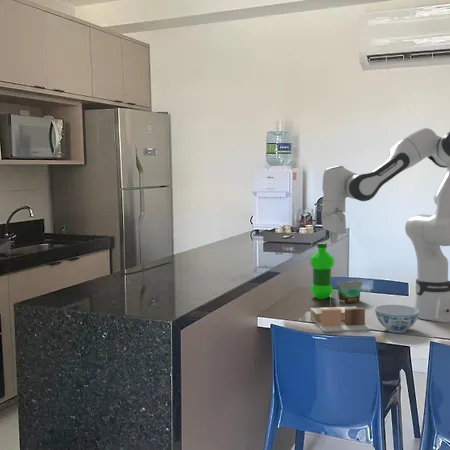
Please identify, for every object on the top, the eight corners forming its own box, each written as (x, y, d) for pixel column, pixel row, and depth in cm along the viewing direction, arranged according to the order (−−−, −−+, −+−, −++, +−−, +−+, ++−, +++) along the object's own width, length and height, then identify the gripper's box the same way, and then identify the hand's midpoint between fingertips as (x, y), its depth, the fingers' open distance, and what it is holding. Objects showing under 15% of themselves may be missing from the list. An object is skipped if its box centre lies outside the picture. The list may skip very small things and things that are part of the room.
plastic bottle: (328, 294, 254) (329, 241, 251) (336, 300, 243) (336, 244, 241) (307, 295, 252) (307, 242, 250) (314, 300, 242) (314, 245, 240)
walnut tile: (363, 307, 202) (364, 308, 201) (363, 323, 203) (364, 324, 201) (344, 308, 202) (346, 309, 200) (344, 324, 202) (346, 325, 201)
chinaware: (414, 339, 185) (414, 316, 184) (370, 333, 192) (370, 311, 192) (421, 328, 198) (422, 307, 197) (380, 323, 205) (380, 303, 205)
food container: (344, 306, 231) (345, 283, 230) (336, 303, 237) (336, 280, 236) (368, 303, 236) (368, 280, 235) (359, 300, 242) (359, 278, 241)
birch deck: (355, 316, 215) (355, 306, 215) (363, 322, 206) (363, 312, 206) (310, 318, 213) (310, 308, 213) (316, 324, 205) (316, 313, 204)
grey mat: (363, 322, 206) (363, 321, 206) (372, 329, 196) (372, 328, 196) (316, 324, 205) (316, 322, 205) (323, 331, 195) (323, 330, 195)
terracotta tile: (339, 308, 202) (341, 309, 200) (339, 324, 202) (340, 325, 200) (321, 309, 201) (322, 310, 199) (321, 325, 202) (322, 326, 200)
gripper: (350, 209, 203) (349, 246, 205) (334, 206, 224) (333, 239, 225) (333, 209, 203) (333, 246, 204) (319, 206, 223) (318, 239, 224)
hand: (333, 242), depth 215 cm, fingers closed
